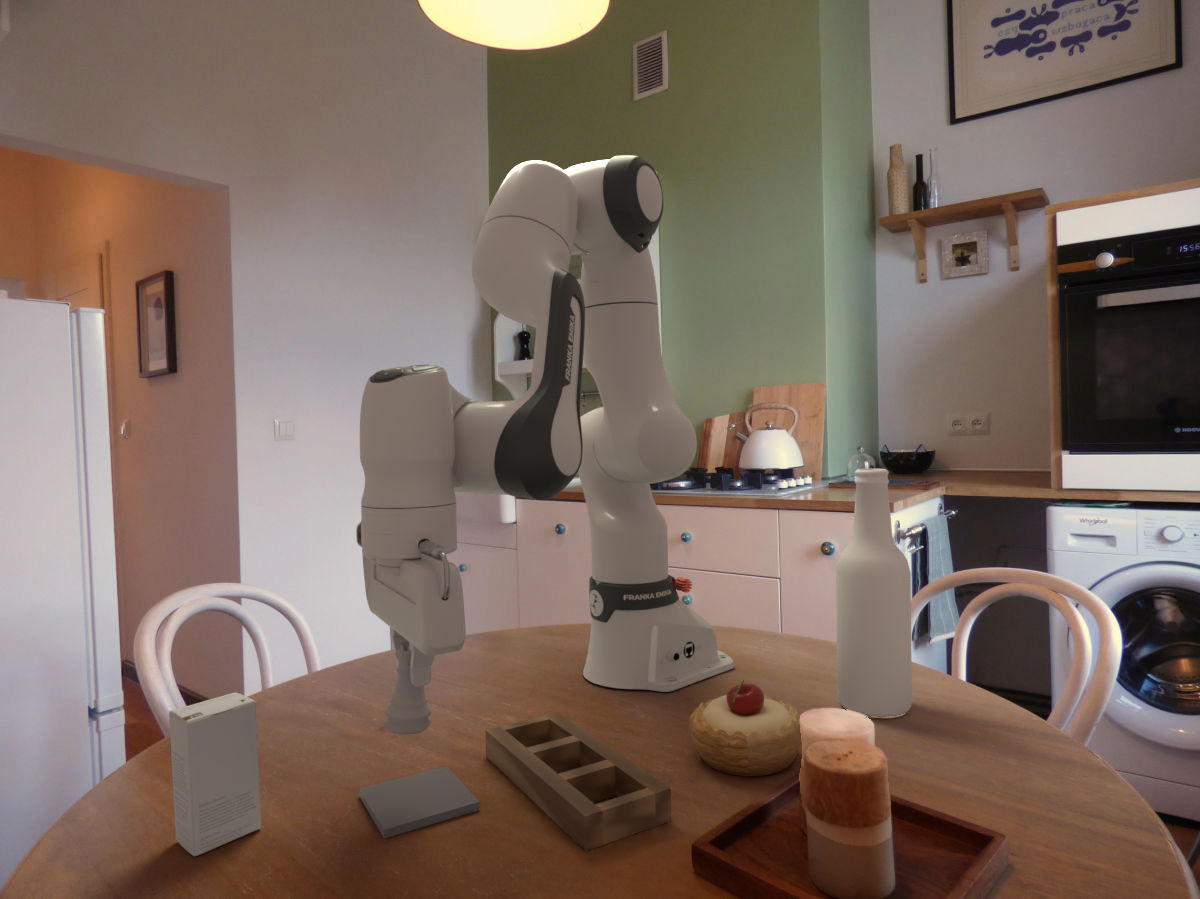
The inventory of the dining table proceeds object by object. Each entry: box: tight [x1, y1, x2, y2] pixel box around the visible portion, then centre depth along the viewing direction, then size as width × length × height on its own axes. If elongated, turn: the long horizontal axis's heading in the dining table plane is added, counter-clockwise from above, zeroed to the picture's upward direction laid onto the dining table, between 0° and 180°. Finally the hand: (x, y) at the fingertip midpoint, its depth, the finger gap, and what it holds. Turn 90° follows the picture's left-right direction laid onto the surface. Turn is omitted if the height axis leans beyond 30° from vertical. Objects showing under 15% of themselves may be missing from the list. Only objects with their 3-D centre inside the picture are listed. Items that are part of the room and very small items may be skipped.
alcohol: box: [835, 468, 913, 719], centre depth 94 cm, size 9×9×30 cm
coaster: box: [358, 765, 481, 839], centre depth 73 cm, size 9×9×1 cm
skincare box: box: [168, 692, 262, 857], centre depth 67 cm, size 6×4×12 cm
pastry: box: [688, 680, 802, 777], centre depth 81 cm, size 12×12×9 cm
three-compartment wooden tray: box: [484, 712, 672, 852], centre depth 76 cm, size 9×22×3 cm, turn 31°
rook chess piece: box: [383, 641, 432, 735], centre depth 72 cm, size 4×4×8 cm
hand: (413, 677), depth 72 cm, fingers closed on rook chess piece, 3 cm apart
